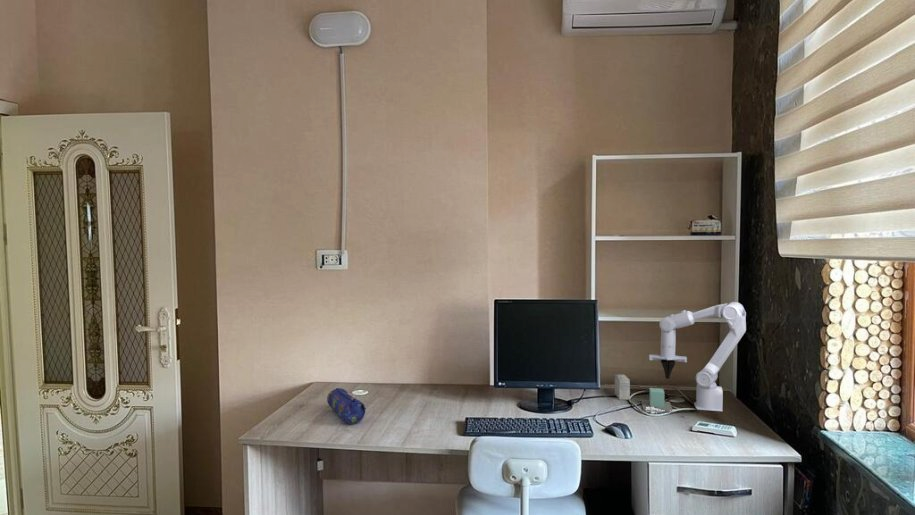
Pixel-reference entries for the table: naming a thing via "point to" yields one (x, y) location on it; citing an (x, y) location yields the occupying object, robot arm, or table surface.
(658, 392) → the seafoam green cube
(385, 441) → the table surface
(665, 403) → the post board
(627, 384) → the medicine box
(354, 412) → the pencil case
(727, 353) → the robot arm
